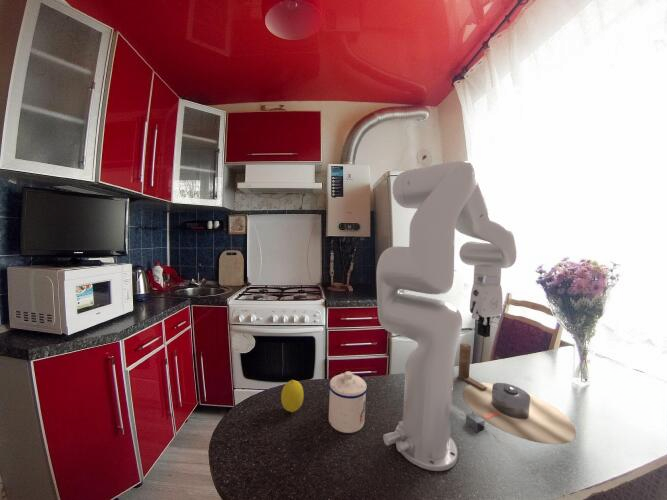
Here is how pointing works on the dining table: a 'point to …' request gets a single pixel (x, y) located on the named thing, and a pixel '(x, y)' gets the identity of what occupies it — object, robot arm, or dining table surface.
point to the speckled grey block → (475, 422)
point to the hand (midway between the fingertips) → (483, 335)
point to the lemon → (292, 396)
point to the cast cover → (510, 400)
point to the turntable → (538, 427)
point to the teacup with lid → (347, 402)
